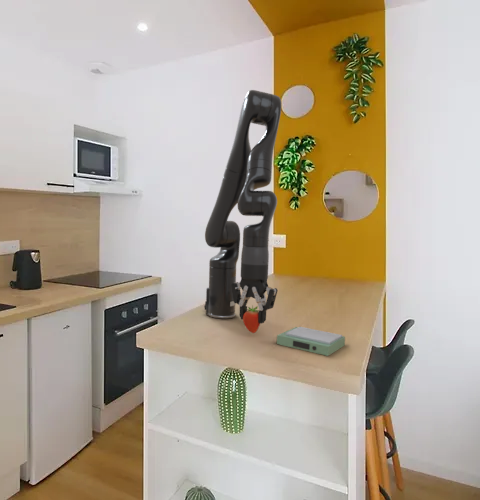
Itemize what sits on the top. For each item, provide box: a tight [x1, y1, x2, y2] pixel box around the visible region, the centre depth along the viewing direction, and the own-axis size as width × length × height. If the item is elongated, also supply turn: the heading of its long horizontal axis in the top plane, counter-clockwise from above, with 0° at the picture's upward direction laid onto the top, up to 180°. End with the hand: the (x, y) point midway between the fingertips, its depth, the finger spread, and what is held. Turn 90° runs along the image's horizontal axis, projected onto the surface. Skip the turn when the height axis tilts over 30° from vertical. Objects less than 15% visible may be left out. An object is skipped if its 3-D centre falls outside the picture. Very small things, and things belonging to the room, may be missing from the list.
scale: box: [276, 326, 346, 357], centre depth 114 cm, size 14×12×3 cm
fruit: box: [242, 305, 261, 334], centre depth 119 cm, size 5×5×8 cm
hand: (252, 320), depth 119 cm, fingers closed on fruit, 5 cm apart
